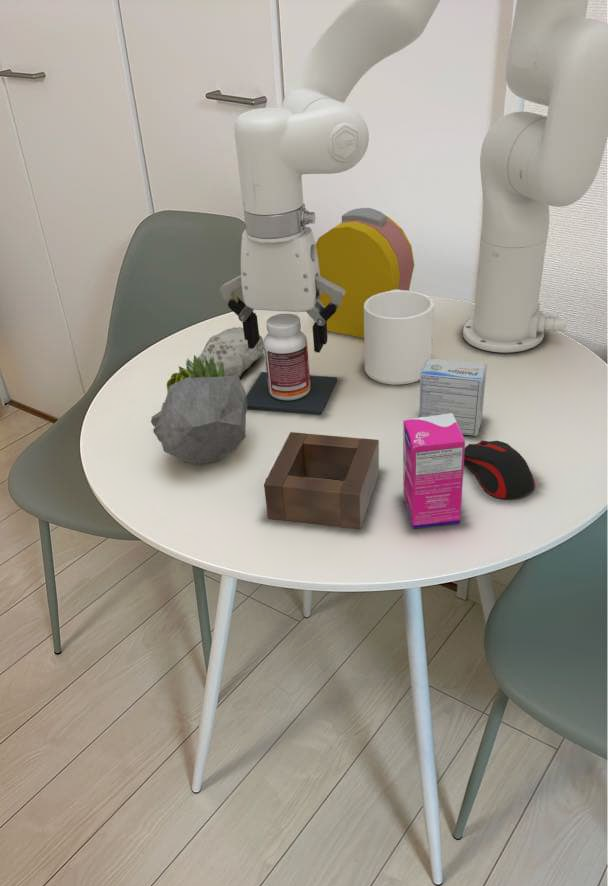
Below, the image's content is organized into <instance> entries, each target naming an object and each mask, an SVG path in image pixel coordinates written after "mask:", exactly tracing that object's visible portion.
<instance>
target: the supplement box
mask: <svg viewBox="0 0 608 886" xmlns="http://www.w3.org/2000/svg"><path fill="white" fill-rule="evenodd" d="M402 426H403V429H402V432H403V433H402V435H403V436H402V441H403V442H402V443H403V444H402V463H403V464H402V472H403V473H402V497H403V498H402V499H403V501H404V504H405V507H406V510H407V513H408V517H409V520H410V524H411V528H412V529H422V528H430V527H437V526H438V527H439V526H447V525H448V526H449V525H460V524H461V517H462V501H463V484H464V470H465V464H464V453H465V447H466V439H465V437H464V435H463V434H462V433H461V430H460V428H459V426H458V424H457V422H456V420H455V417H454V415H453V413H449V414H442V415H435V416H428V417H420V418H419V417H411V418H404V419H403V423H402Z"/></svg>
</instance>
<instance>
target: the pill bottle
mask: <svg viewBox="0 0 608 886" xmlns="http://www.w3.org/2000/svg"><path fill="white" fill-rule="evenodd" d="M301 328H302V324H301V318H300V317H299V316H298V315H296V314H293V313H279V314H275V315H272V316H269V317H268V319H267V320H266V331H267V334H266V335H265V337H264V338H263V344H264V350H263V354H264V360H265V372H267V380H268V389H269V393H270V394H271V395H272V396H273V397H274V398H276V399H279V400H286V401H291V400H296V399H299V398H302V397H304V396H305V395H307V394H308V392H309V391H310V361H309V350H308V349H309V348H308V347H309V345H308V338H307V335H306V334H305V333H304V332H303V331H302V330H301Z"/></svg>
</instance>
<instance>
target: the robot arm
mask: <svg viewBox="0 0 608 886" xmlns="http://www.w3.org/2000/svg"><path fill="white" fill-rule="evenodd" d="M440 2H441V0H349V2H347V3H346V4H345V6H343V8H342V9H341V10H340V11H339V13H338V14H337V15H336V16H335V18H334V19H333V20H332V21H331V22H330V24H329V25H328V26H327V27H326V28H325V30H323V32H322V33H321V34H320V35H319V36H318V37H317V39H316V41H315V42H314V43H313V44H312V46H311V48H310V49H309V50H308V52H307V54H306V55H305V56H304V58H303V60H302V63H301V64H300V66H299V68H298V70H297V72H296V74H295V76H294V78H293V80H292V81H291V84H290V86H289V88H288V90H287V92H286V93H285V96H284V99H283V101H282V104H281V107H263V108H261V107H259V108H254V109H250V110H247V111H245V112H242V113H240V115H239V116H238V117H237V118H236V119H235V122H234V127H233V128H234V129H233V130H234V140H235V149H236V156H237V157H236V159H237V165H238V173H239V181H240V182H239V183H240V190H241V199H242V207H243V214H244V215H243V217H244V223H245V224H244V225H245V229H244V230H243V232H242V235H241V241H240V242H241V244H240V275H238V276H236V277H234V278H233V279H230V280H228V281H226V282H225V283H223V284H222V285H221V286H220V288H219V293H220V294H221V296H222V297H223V299H224V300H225V302H226V303H227V306H228V308H229V309H230V310H231V311H232V312H233V313H234V314H235V315H236V316H237V318H238V321H240V322H242V328H243V330H244V338H245V340H247V342H248V348H249V349H253V348H254V347H255V345H256V344H257V343H258V341H259V339H260V337H259V335H260V330H259V322H258V315H257V313H256V312H254V310H255V311H270V312H294V313H306V314H307V315H308V316H309V317H310V318H311V319H312V320H313V321H314V323H313V325H312V340H313V341H312V342H313V352H315V353H316V354H319V353H320V352H321V351H322V349H323V346H325V345H327V343H328V331H327V320H328V319H329V318H330V317H331V316H332V315H333V314H334V313H335V312H336V310H337V308H338V306H339V304H340V302H341V300H342V298H343V296H344V294H345V290H344V289H343V288H341V287H339V286H337V285H336V284H334V283H332V282H330V281H328V280H326V279H324V278H323V277H321V276H320V268H319V262H318V255H317V250H316V245H315V244H316V241H315V236H314V233H313V230H312V228H311V227H309V226H307V225H310V224H313V225H314V224H315V223H316V213H315V211H309V210H307V208H306V203H304V193H303V191H304V190H303V179H302V175H331V174H341V173H343V172H346V171H348V170H351V169H353V168H354V167H355V166H357V164H358V163H360V162H361V160H362V159H363V157H364V156H365V155H366V152H367V150H368V146H369V143H370V142H369V141H370V134H369V133H370V132H369V128H368V126H367V123H366V120H365V119H364V117H363V115H362V114H361V113H360V112H359V111H358V110H357V109H356V108H355V107H352V106H351V105H350V104H347V103H346V100H347V99H348V97H349V95H350V94H351V92H352V90H354V88H355V86H356V85H357V84H358V82H359V81H360V80H361V79H362V78H363V76H365V75H366V73H367V72H368V71H369V70H371V69H372V68H373V67H375V65H377V64H378V63H380V62H381V61H383V60H385V59H386V58H388V57H390V56H391V55H395V54H396V53H398V52H400V51H402V50H403V49H405V48H406V47H408V46H410V45H411V44H413V43H414V42H415V41H417V39H419V38H420V37H421V35H422V34H423V33H424V31H425V29H426V28H427V25H428V24H429V22H430V20H431V18H432V16H433V14H434V13H435V11H436V9H437V8H438V5H439V3H440ZM588 4H589V0H516V4H515V8H514V9H515V10H514V17H513V22H512V28H511V33H510V39H509V45H508V51H507V58H506V63H505V64H506V65H505V80H506V85H507V86H508V88H509V90H510V92H511V93H513V94H514V95H515V97H518V98H520V99H522V100H525V101H528V102H531V103H534V104H537V105H540V106H541V105H542V106H545V107H548V110H547V115H543V114H539V113H534V112H531V111H514V112H513V111H512V112H510V113H507V114H505V115H503V116H501V117H500V118H498V119H497V120H496V121H495V122H494V123H493V124H492V125H491V126H490V127H489V129H488V130H487V132H486V134H485V136H484V138H483V141H482V144H481V149H480V155H479V156H480V158H479V166H480V167H479V169H480V179H481V181H480V182H481V190H482V191H481V193H482V215H481V230H480V240H479V251H478V252H479V253H478V264H477V275H476V276H477V277H476V288H475V302H474V313H473V317H472V318H471V319H469V320H467V321H466V322H465V323H464V325H463V326H462V327H463V328H462V337H463V338H464V340H465V341H466V342H467V343H468V344H469V345H471V346H472V347H474V348H477V349H480V350H483V351H486V352H491V353H506V354H507V353H518V352H524V351H527V350H530V349H533V348H535V347H537V346H538V345H539V344H541V343H542V341H543V339H544V337H545V331H553V332H566V329H567V328H566V327H567V320H568V319H567V318H562V317H559V314H560V313H558V312H544V311H543V310H540V305H541V302H539V300H540V291H541V286H542V285H541V284H542V278H543V271H544V262H545V256H546V251H547V250H546V249H547V242H548V237H549V230H550V207H554V208H564V207H567V206H568V207H569V206H571V205H573V204H574V203H577V202H578V201H579V200H581V199H582V198H583V197H584V195H586V193H587V192H588V191H589V189H590V188H591V186H592V185H593V183H594V181H595V179H596V177H597V175H598V172H599V169H600V167H601V163H602V160H603V156H604V152H605V148H606V145H607V142H608V23H606V22H604V21H602V20H600V19H599V20H598V19H593V18H586V17H587V9H588ZM239 289H241V292H242V299H243V300H242V299H241V298H240V297H238V296H237V295H236V292H235V291H237V290H239ZM322 292H324V293H325V294H327V295H329V296H330V297H331V302H330V303H329V304H328V305H327V306H326V307H325V306H324V305H323V304H322V303H321V302H320V301H319V299H318V298H320V297H321V293H322Z"/></svg>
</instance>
